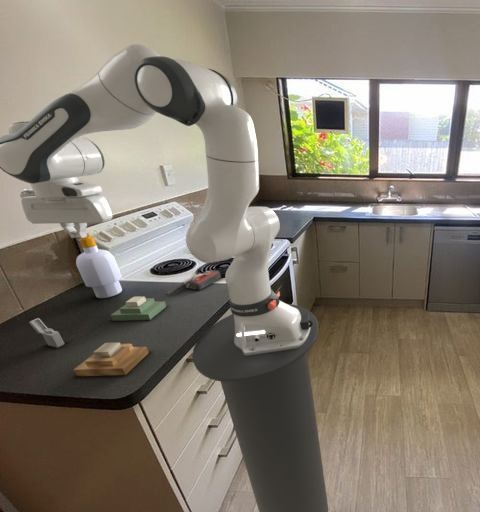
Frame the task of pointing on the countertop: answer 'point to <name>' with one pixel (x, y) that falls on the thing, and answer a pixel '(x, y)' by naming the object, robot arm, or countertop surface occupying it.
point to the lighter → (47, 333)
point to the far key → (135, 301)
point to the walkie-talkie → (199, 281)
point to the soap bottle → (98, 269)
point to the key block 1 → (139, 311)
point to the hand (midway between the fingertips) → (79, 237)
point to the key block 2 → (112, 362)
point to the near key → (107, 350)
